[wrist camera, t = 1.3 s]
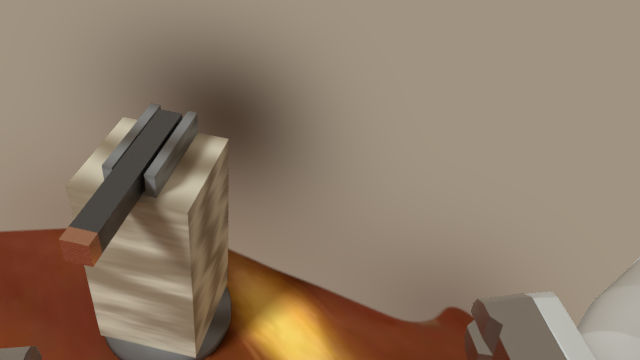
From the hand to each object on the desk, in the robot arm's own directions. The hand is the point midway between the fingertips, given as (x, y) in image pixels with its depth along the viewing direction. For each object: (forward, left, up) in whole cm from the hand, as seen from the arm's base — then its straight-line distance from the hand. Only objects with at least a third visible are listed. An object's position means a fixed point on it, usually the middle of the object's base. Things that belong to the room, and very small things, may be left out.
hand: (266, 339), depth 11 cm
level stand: (+6, -41, -55) cm, 69 cm away
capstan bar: (+8, -37, -28) cm, 47 cm away
